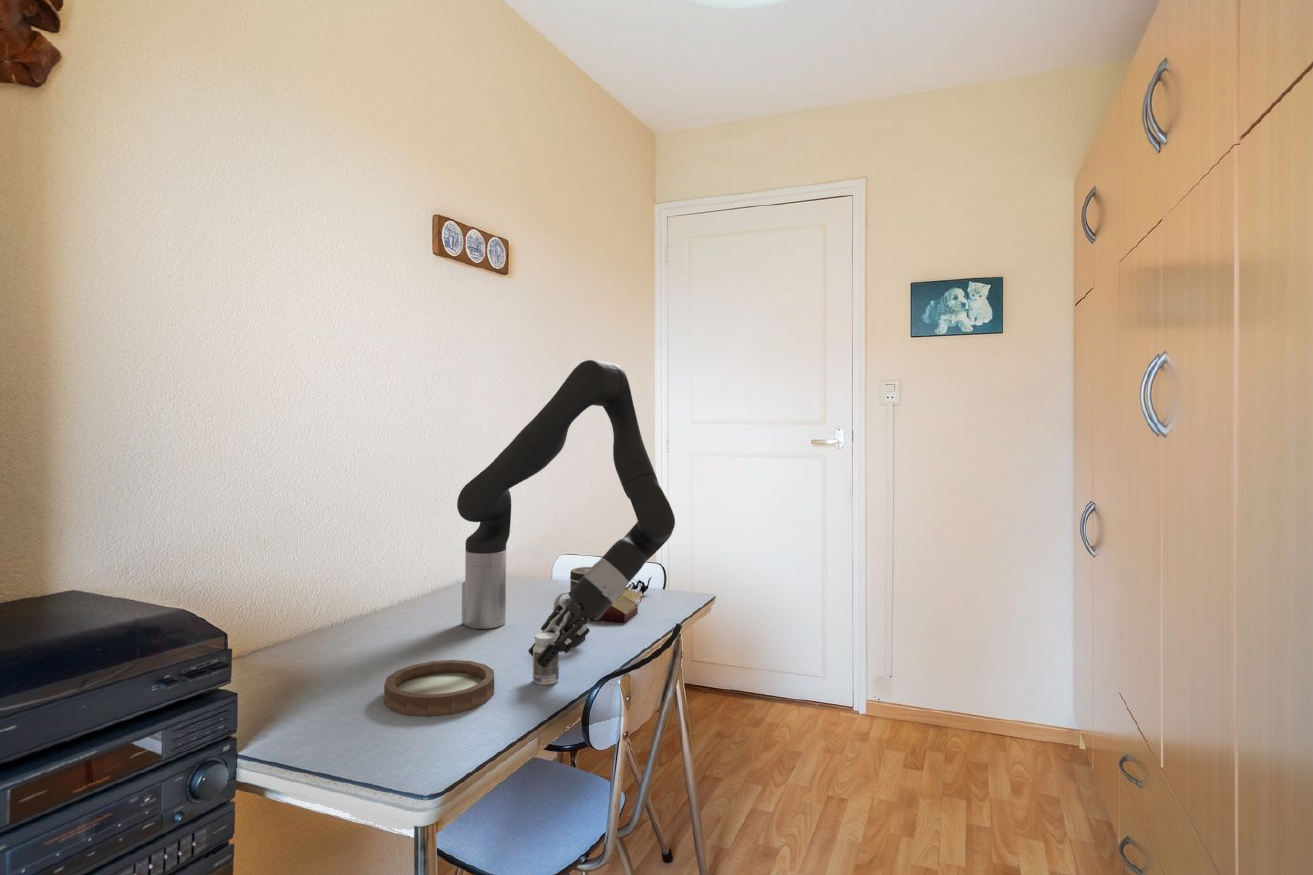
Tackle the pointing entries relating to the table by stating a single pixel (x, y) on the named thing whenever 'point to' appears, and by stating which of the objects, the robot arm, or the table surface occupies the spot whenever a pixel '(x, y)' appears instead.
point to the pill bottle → (552, 670)
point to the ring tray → (439, 687)
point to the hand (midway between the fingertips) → (536, 659)
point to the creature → (643, 587)
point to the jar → (577, 575)
